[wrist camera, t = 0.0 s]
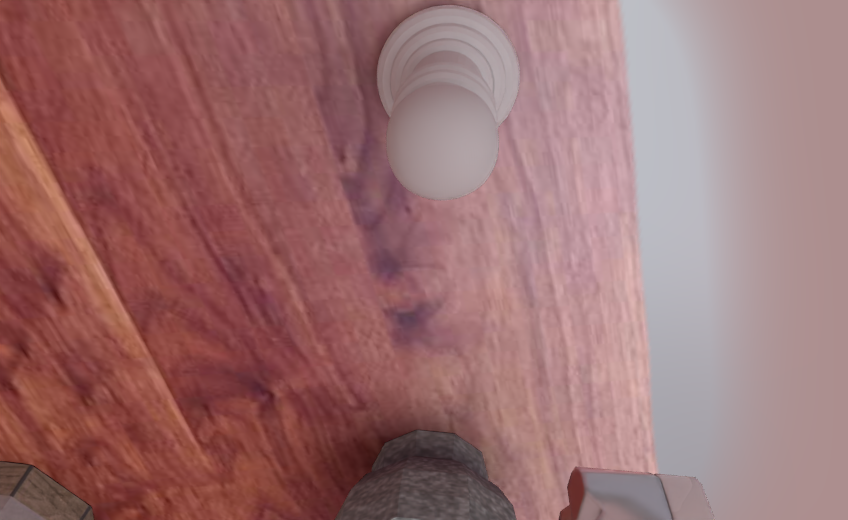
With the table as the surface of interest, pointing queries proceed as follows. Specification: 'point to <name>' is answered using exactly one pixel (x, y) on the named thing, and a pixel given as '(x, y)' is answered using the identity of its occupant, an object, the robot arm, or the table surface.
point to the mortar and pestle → (427, 483)
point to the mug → (36, 496)
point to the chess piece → (446, 99)
